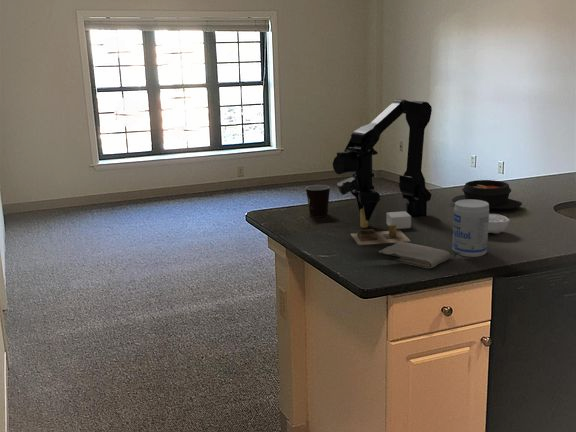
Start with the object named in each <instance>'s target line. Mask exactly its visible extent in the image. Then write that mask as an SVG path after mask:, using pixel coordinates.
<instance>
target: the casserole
mask: <svg viewBox="0 0 576 432" xmlns="http://www.w3.org/2000/svg"><path fill="white" fill-rule="evenodd" d="M461 190H462V192H463V194H460V195H457V196H454V197H453V198H452V199H451V202H454V203H455V202H456V201H459V200H465V199H474V200H482V201H485V202H487V203H489V211H495V210H512V209H516V208H519V207H521V206H522V205H523V202H522V201H519V200H514V199H511V198H509V196H510V194H511V192H512V189H511V187H510V185H509V184H508V183H507V182H505V181H500V180H493V179H492V180H491V179H480V180H479V179H477V180H471V181H468V182H466V183H464V187H463V188H462V189H461Z"/></svg>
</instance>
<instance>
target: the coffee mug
mask: <svg viewBox="0 0 576 432" xmlns="http://www.w3.org/2000/svg"><path fill="white" fill-rule="evenodd" d="M305 193H306V198H307V204H308V212H309V216H310V217H314V218H315V217H316V218H317V217H318V218H321V217H320V216H322V217H325V216H328V211H329V201H330V200H329V199H330V186H329V185H326V184H313V185H308V186H306V187H305Z"/></svg>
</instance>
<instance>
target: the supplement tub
mask: <svg viewBox="0 0 576 432" xmlns="http://www.w3.org/2000/svg"><path fill="white" fill-rule="evenodd" d="M489 214H490V210H489V203H487V202H485V201H482V200H474V199H465V200H459V201H456V202H454V207H453V220H452V221H453V225H452V227H453V228H452V229H453V230H452V247H451V248H452V250H453V251H454V252H456V253H455V254H456V255H458V256H461V257H467V258H468V257H469V258H477V257H482V256H484V255H485V254H487V252H488V251H487V250H488V236H489V233H488V223H489Z"/></svg>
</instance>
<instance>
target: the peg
mask: <svg viewBox="0 0 576 432" xmlns="http://www.w3.org/2000/svg"><path fill="white" fill-rule="evenodd" d="M359 215H360V216H359V217H360V218H359V219H360V221H359V224H360V226H359V227H360V228H364V229H365V228H368V226H369V221H366V219H365V214H364V209H360V213H359Z"/></svg>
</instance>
